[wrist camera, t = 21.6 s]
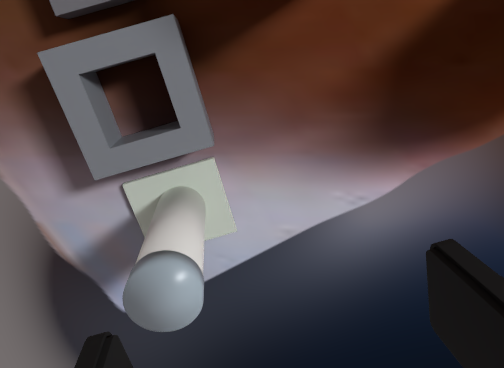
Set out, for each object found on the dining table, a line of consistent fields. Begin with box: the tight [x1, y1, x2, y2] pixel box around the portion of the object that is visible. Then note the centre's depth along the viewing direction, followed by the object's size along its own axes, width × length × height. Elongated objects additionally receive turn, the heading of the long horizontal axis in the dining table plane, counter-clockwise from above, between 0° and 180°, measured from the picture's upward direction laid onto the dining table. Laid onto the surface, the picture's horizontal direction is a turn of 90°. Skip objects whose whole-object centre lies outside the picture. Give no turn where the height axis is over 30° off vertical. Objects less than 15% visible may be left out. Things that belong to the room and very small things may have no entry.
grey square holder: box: [38, 14, 214, 180], centre depth 34 cm, size 11×11×5 cm
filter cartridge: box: [123, 186, 206, 332], centre depth 33 cm, size 5×5×16 cm
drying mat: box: [122, 157, 237, 241], centre depth 40 cm, size 9×10×1 cm
